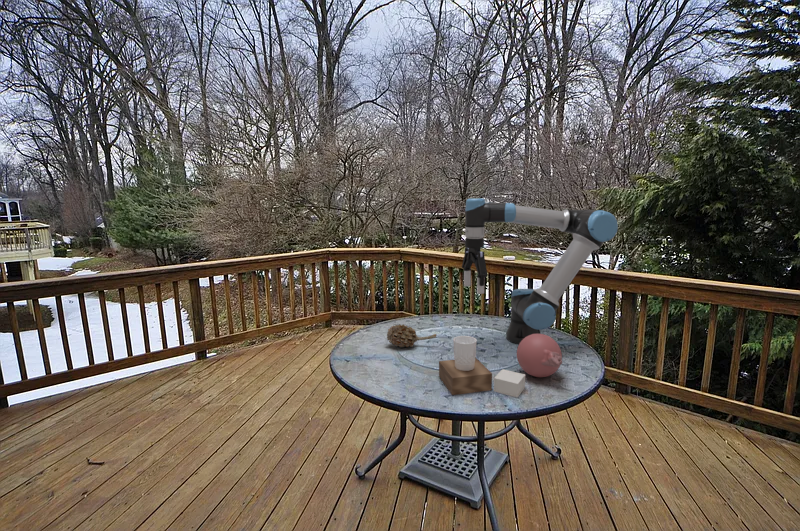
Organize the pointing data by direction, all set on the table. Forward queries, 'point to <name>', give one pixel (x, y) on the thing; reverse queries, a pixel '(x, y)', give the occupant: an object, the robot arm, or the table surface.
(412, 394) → the table surface
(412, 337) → the pine cone
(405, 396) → the table surface
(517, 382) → the pale block
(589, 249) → the robot arm
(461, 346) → the white cup
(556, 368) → the balloon
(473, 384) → the walnut block
